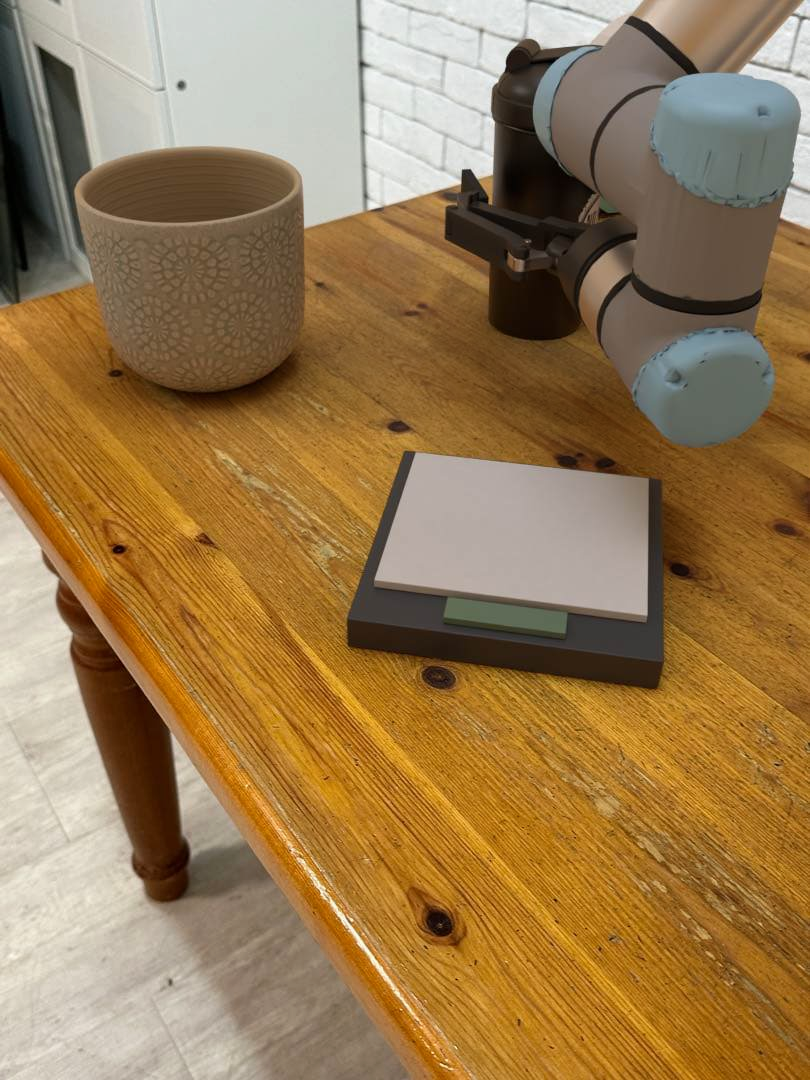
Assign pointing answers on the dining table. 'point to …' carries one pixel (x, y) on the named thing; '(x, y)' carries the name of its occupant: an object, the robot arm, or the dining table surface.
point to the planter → (197, 262)
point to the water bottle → (531, 197)
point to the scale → (517, 569)
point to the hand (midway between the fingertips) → (544, 181)
